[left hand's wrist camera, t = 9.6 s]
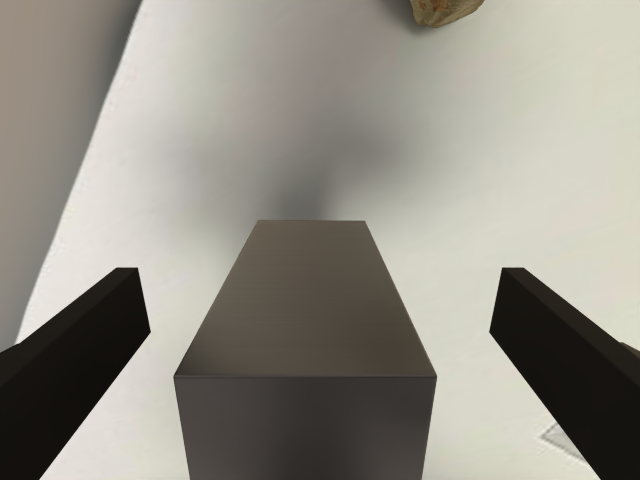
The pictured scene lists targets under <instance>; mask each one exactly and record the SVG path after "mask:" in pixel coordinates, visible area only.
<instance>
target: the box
mask: <svg viewBox="0 0 640 480" xmlns="http://www.w3.org/2000/svg"><path fill="white" fill-rule="evenodd" d="M173 378H174V384H175V390H176V396H177V403H178V409H179V415H180V421H181V427H182V433H183V439H184V445H185V451H186V457H187V463H188V469H189V476H190V480H422V473H423V466H424V460H425V453H426V447H427V440H428V433H429V427H430V420H431V414H432V407H433V401H434V394H435V387H436V381H437V375H436V372H435V370H434V368H433V366H432V364H431V362H430V360H429V357H428V355H427V353H426V351H425V349H424V347H423V345H422V342H421V340H420V338H419V336H418V334H417V332H416V330H415V327H414V325H413V323H412V321H411V319H410V317H409V314H408V312H407V310H406V308H405V306H404V304H403V302H402V299H401V297H400V295H399V293H398V291H397V289H396V287H395V284H394V282H393V280H392V278H391V276H390V274H389V272H388V269H387V267H386V265H385V263H384V261H383V259H382V256H381V254H380V252H379V250H378V248H377V246H376V244H375V241H374V239H373V237H372V235H371V233H370V231H369V229H368V226H367V224H366V222H365V221H310V220H258V221H257V223H256V225H255V227H254V228H253V230H252V232H251V234H250V236H249V238H248V239H247V241H246V243H245V245H244V247H243V249H242V251H241V252H240V254H239V256H238V258H237V260H236V262H235V263H234V265H233V267H232V269H231V271H230V273H229V275H228V276H227V278H226V280H225V282H224V284H223V286H222V287H221V289H220V291H219V293H218V295H217V297H216V299H215V300H214V302H213V304H212V306H211V308H210V310H209V311H208V313H207V315H206V317H205V319H204V321H203V322H202V324H201V326H200V328H199V330H198V332H197V334H196V335H195V337H194V339H193V341H192V343H191V345H190V346H189V348H188V350H187V352H186V354H185V356H184V358H183V359H182V361H181V363H180V365H179V367H178V369H177V370H176V372H175V374H174V376H173Z"/></svg>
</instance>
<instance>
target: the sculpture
mask: <svg viewBox="0 0 640 480" xmlns="http://www.w3.org/2000/svg"><path fill="white" fill-rule="evenodd" d="M410 2H411V5H412V8H413V16H414V19H415V21H416V22H417V24H418V25H425V24H428V25H429V26H430V27H432V28H437V27H440V26H443V25H446V24H449V23H451V22H454V21H456V20H458V19H460V18H463V17H465V16H467V15H469V14H471V13H473V12H474V11H476V10H477V9H478V7H479V6H480V5H482V3H483V2H484V0H410Z"/></svg>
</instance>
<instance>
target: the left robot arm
mask: <svg viewBox="0 0 640 480" xmlns="http://www.w3.org/2000/svg"><path fill="white" fill-rule="evenodd" d="M150 333H151V331H150V326H149V321H148V316H147V311H146V306H145V301H144V296H143V291H142V286H141V281H140V276H139V271H138V268H115V269H114V270H113V271H112V272H110V273H109V274H108V275H106V276H105V277H104V278H103V279H101V280H100V281H99V282H97V283H96V284H95V285H94V286H92V287H91V288H90V289H89V290H87V291H86V292H85V293H83V294H82V295H81V296H80V297H78V298H77V299H76V300H74V301H73V302H72V303H71V304H69V305H68V306H67V307H65V308H64V309H63V310H62V311H60V312H59V313H58V314H57V315H55V316H54V317H53V318H51V319H50V320H49V321H48V322H46V323H45V324H44V325H42V326H41V327H40V328H39V329H37V330H36V331H35V332H33V333H32V334H31V335H30V336H28V337H27V338H26V339H25V340H23V341H22V342H21V343H19V344H16V345H14V346H12V347H10V348H8V349H6V350H5V351H3V352H1V353H0V480H39V479H40V478H41V477H42V475H43V474H44V473H45V471H46V470H47V469H48V467H49V466H50V465H51V463H52V462H53V461H54V459H55V458H56V457H57V456H58V454H59V453H60V452H61V450H62V449H63V448H64V446H65V445H66V444H67V442H68V441H69V440H70V438H71V437H72V436H73V434H74V433H75V432H76V430H77V429H78V428H79V426H80V425H81V424H82V422H83V421H84V420H85V419H86V417H87V416H88V415H89V413H90V412H91V411H92V409H93V408H94V407H95V405H96V404H97V403H98V401H99V400H100V399H101V397H102V396H103V395H104V393H105V392H106V391H107V389H108V388H109V387H110V385H111V384H112V383H113V381H114V380H115V379H116V378H117V376H118V375H119V374H120V372H121V371H122V370H123V368H124V367H125V366H126V364H127V363H128V362H129V360H130V359H131V358H132V356H133V355H134V354H135V352H136V351H137V350H138V348H139V347H140V346H141V344H142V343H143V342H144V341H145V339H146V338H147V337H148V335H149V334H150ZM489 333H490V334H491V335H492V337H493V338H494V339H495V341H496V342H497V343H498V344H499V346H500V347H501V348H502V350H503V351H504V352H505V354H506V355H507V356H508V358H509V359H510V360H511V362H512V363H513V364H514V366H515V367H516V368H517V370H518V371H519V372H520V374H521V375H522V376H523V378H524V379H525V380H526V381H527V383H528V384H529V385H530V387H531V388H532V389H533V391H534V392H535V393H536V395H537V396H538V397H539V399H540V400H541V401H542V403H543V404H544V405H545V407H546V408H547V409H548V411H549V412H550V413H551V415H552V416H553V417H554V419H555V420H556V421H557V422H558V424H559V425H560V426H561V428H562V429H563V430H564V432H565V433H566V434H567V436H568V437H569V438H570V440H571V441H572V442H573V444H574V445H575V446H576V448H577V449H578V450H579V452H580V453H581V454H582V456H583V457H584V458H585V459H586V461H587V462H588V463H589V465H590V466H591V467H592V469H593V470H594V471H595V473H596V474H597V475H598V477H599V478H600V479H601V480H640V351H638V350H636V349H634V348H633V347H631V346H629V345H627V344H625V343H623V342H618V341H617V340H615V339H614V338H613V337H612V336H610V335H609V334H608V333H607V332H605V331H604V330H603V329H601V328H600V327H599V326H598V325H596V324H595V323H594V322H592V321H591V320H590V319H589V318H587V317H586V316H585V315H583V314H582V313H581V312H580V311H578V310H577V309H576V308H575V307H573V306H572V305H571V304H569V303H568V302H567V301H566V300H564V299H563V298H562V297H560V296H559V295H558V294H557V293H555V292H554V291H553V290H551V289H550V288H549V287H548V286H546V285H545V284H544V283H543V282H541V281H540V280H539V279H537V278H536V277H535V276H534V275H532V274H531V273H530V272H528V271H527V270H526V269H525V268H502V271H501V276H500V281H499V286H498V291H497V296H496V301H495V306H494V311H493V316H492V321H491V326H490V331H489Z"/></svg>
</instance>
